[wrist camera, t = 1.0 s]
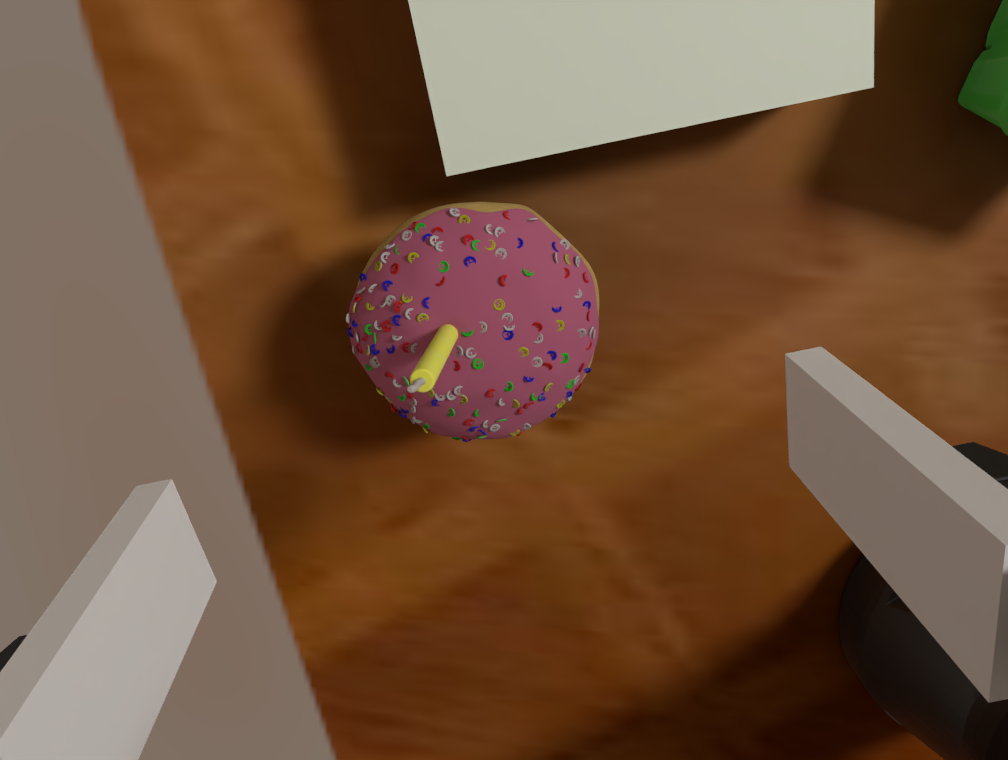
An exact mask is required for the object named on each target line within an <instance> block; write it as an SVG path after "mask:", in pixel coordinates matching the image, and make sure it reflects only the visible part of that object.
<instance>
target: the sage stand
mask: <svg viewBox="0 0 1008 760" xmlns="http://www.w3.org/2000/svg"><path fill="white" fill-rule="evenodd" d="M408 2H409V7H410V12H411V16H412V21H413V25H414V30H415V35H416V39H417V44H418V48H419V53H420V57H421V62H422V67H423V71H424V76H425V80H426V85H427V89H428V94H429V99H430V103H431V108H432V112H433V117H434V122H435V126H436V131H437V135H438V140H439V144H440V149H441V154H442V158H443V163H444V167H445V172H446V176H451V175H456V174H461V173H465V172H470V171H475V170H480V169H485V168H489V167H494V166H499V165H504V164H509V163H513V162H518V161H523V160H528V159H533V158H537V157H542V156H547V155H552V154H557V153H561V152H566V151H571V150H576V149H581V148H585V147H590V146H595V145H600V144H605V143H609V142H614V141H619V140H624V139H629V138H633V137H638V136H643V135H648V134H653V133H657V132H662V131H667V130H672V129H677V128H681V127H686V126H691V125H696V124H701V123H705V122H710V121H715V120H720V119H725V118H729V117H734V116H739V115H744V114H749V113H753V112H758V111H763V110H768V109H773V108H778V107H782V106H787V105H792V104H797V103H802V102H806V101H811V100H816V99H821V98H826V97H830V96H835V95H840V94H845V93H850V92H854V91H859V90H864V89H869V88H874V5H875V0H408Z"/></svg>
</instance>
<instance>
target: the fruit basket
mask: <svg viewBox="0 0 1008 760" xmlns="http://www.w3.org/2000/svg"><path fill="white" fill-rule="evenodd" d="M985 46H986V50H984V51H983V52H982V53H981V54H980V56H979V57H978V58H977V59H976V61H975V62H974V64H973V66H972V68H971V70H970V72H969V74H968V76H967V78H966V81H965V83H964V85H963V87H962V89H961V91H960V94H959V96H958V103H959V104H960V105H961V106H962V107H964V108H966V109H968V110H970V111H971V112H973V113H975V114H977V115H978V116H980V117H982V118H984V119H986V120H988V121H989V122H991V123H993V124H995V125H997V126H999V127H1000V128H1001V129H1002V131H1003V132H1004V133H1005V134H1006V135H1007V136H1008V0H1002V2H1001V4H1000V7H999V9H998V11H997V13H996V15H995V17H994V20H993V22H992V24H991V27H990V29H989V31H988V35H987V40H986V44H985Z"/></svg>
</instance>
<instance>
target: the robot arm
mask: <svg viewBox="0 0 1008 760" xmlns="http://www.w3.org/2000/svg"><path fill="white" fill-rule="evenodd" d="M785 366H786V393H787V420H788V447H789V466H790V468H791V469H792V470H793V471H794V472H795V474H796V475H797V476H798V477H799V478H800V479H801V481H802V482H803V483H804V484H805V485H806V487H807V488H808V489H809V490H810V491H811V493H812V494H813V495H814V496H815V497H816V498H817V500H818V501H819V502H820V503H821V504H822V506H823V507H824V508H825V509H826V510H827V512H828V513H829V514H830V515H831V516H832V517H833V519H834V520H835V521H836V522H837V523H838V525H839V526H840V527H841V528H842V529H843V530H844V532H845V533H846V534H847V535H848V536H849V538H850V539H851V540H852V541H853V542H854V544H855V545H856V546H857V547H858V548H859V549H860V551H861V552H862V553H863V556H862V557H861V559H860V560H859V562H858V564H857V565H856V567H855V569H854V570H853V572H852V575H851V577H850V579H849V581H848V583H847V586H846V588H845V591H844V595H843V598H842V602H841V607H840V614H839V635H840V641H841V645H842V649H843V652H844V654H845V657H846V659H847V661H848V663H849V664H850V666H851V667H852V669H853V671H854V672H855V674H856V675H857V676H858V678H859V679H860V681H861V682H862V684H863V685H864V687H865V688H866V690H867V691H868V693H869V694H870V696H871V697H872V699H873V700H874V701H875V702H876V703H877V704H878V706H879V707H880V708H881V709H882V710H883V711H884V712H885V713H886V714H887V715H889V716H890V717H891V718H892V719H893V720H895V721H896V722H897V723H898V724H900V725H902V726H904V727H905V728H906V729H908V730H909V731H910V732H911V733H912V734H913V735H915V736H916V737H917V738H918V739H920V740H921V741H922V742H923V743H924V744H926V745H927V746H928V747H929V748H931V749H932V750H933V751H934V752H936V753H937V754H938V755H939V756H941V757H942V758H943V759H944V760H1008V455H1006V454H1004V453H1001V452H998V451H996V450H993V449H990V448H988V447H985V446H982V445H980V444H977V443H974V442H971V443H966V444H961V445H956V446H951V445H949V444H948V443H947V442H945V441H944V440H943V439H941V438H940V437H939V436H937V435H936V434H935V433H934V432H932V431H931V430H930V429H928V428H927V427H926V426H924V425H923V424H922V423H920V422H919V421H918V420H917V419H915V418H914V417H913V416H911V415H910V414H909V413H907V412H906V411H905V410H903V409H902V408H901V407H900V406H898V405H897V404H896V403H894V402H893V401H892V400H890V399H889V398H888V397H886V396H885V395H884V394H883V393H881V392H880V391H879V390H877V389H876V388H875V387H873V386H872V385H871V384H869V383H868V382H867V381H866V380H864V379H863V378H862V377H860V376H859V375H858V374H856V373H855V372H854V371H853V370H851V369H850V368H849V367H847V366H846V365H845V364H843V363H842V362H841V361H839V360H838V359H837V358H836V357H834V356H833V355H832V354H830V353H829V352H828V351H826V350H825V349H824V348H822V347H816V348H812V349H807V350H802V351H797V352H792V353H787V354H785ZM216 582H217V581H216V579H215V576H214V574H213V572H212V569H211V567H210V565H209V562H208V560H207V558H206V556H205V553H204V551H203V549H202V547H201V544H200V542H199V540H198V537H197V535H196V533H195V531H194V528H193V526H192V524H191V522H190V519H189V517H188V515H187V512H186V510H185V508H184V505H183V503H182V501H181V499H180V496H179V494H178V492H177V489H176V487H175V485H174V483H173V480H172V479H168V480H163V481H158V482H154V483H149V484H144V485H139V486H136V487H135V489H134V490H133V491H132V493H131V494H130V496H129V497H128V498H127V500H126V501H125V502H124V504H123V505H122V506H121V508H120V509H119V510H118V512H117V513H116V515H115V516H114V518H113V519H112V520H111V522H110V523H109V524H108V526H107V527H106V528H105V530H104V531H103V532H102V534H101V535H100V536H99V538H98V539H97V541H96V542H95V543H94V545H93V546H92V547H91V549H90V550H89V552H88V553H87V554H86V556H85V557H84V558H83V560H82V561H81V563H80V564H79V565H78V567H77V568H76V569H75V571H74V572H73V573H72V575H71V576H70V578H69V579H68V580H67V582H66V583H65V584H64V586H63V587H62V588H61V590H60V591H59V593H58V594H57V595H56V597H55V598H54V599H53V601H52V602H51V604H50V605H49V606H48V608H47V609H46V610H45V612H44V613H43V614H42V616H41V617H40V619H39V620H38V621H37V623H36V624H35V625H34V627H33V628H32V629H31V631H30V632H29V634H28V635H24V636H19V637H18V638H17V639H16V640H14V641H13V642H12V643H11V644H10V645H9V646H8V647H6V648H5V649H4V650H3V651H2V652H1V653H0V760H138V759H139V756H140V754H141V752H142V750H143V747H144V745H145V743H146V741H147V738H148V736H149V734H150V732H151V729H152V727H153V725H154V723H155V720H156V718H157V716H158V714H159V711H160V709H161V707H162V705H163V702H164V700H165V698H166V696H167V693H168V691H169V688H170V686H171V684H172V682H173V679H174V677H175V675H176V673H177V671H178V668H179V666H180V664H181V661H182V659H183V657H184V655H185V653H186V650H187V648H188V646H189V644H190V641H191V639H192V637H193V635H194V632H195V630H196V628H197V625H198V623H199V621H200V619H201V616H202V614H203V612H204V610H205V607H206V605H207V603H208V601H209V598H210V596H211V594H212V592H213V589H214V587H215V585H216Z"/></svg>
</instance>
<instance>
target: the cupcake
mask: <svg viewBox="0 0 1008 760" xmlns="http://www.w3.org/2000/svg"><path fill="white" fill-rule="evenodd" d="M346 322H347V323H348V326H349V329H348V334H349V336H350V341H351V345H352V352H353V354H354V355H355V356H356V358H357V359H358V361H359V362H360V364H361V365H362V367H363V368H364V370H365V371H366V373H367V374H368V375H369V377H370V378H371V380H372V381H373V383H374V384H375V385H376V387H377V388H376V390H377V392H378V393H379V394H381V395H383V396H384V397H385V398H386V399H387V401H388V402H389V403H390V404H391V409H392V411H393V412H394V413H396V412H397V411H398V413H399V414H400V415H401V416H402V417H404V418H406V417H407V418H408V419H410V421H411V422H412V423H413V424H414V423H417V424H418V425H420V426H422V428H423V430H424V431H425V432H426V433H428V430H429V431H431V432H433V433H436V434H438V435H442V436H448V437H452V438H453V439H455V440H459V439H462V440H463V441H465V442H468V441H470V440H472V439H500V438H506V437H510V436H513V435H517V436H519V435H520V434H521V433H522V432H523V431H524V430H526V429H529V428H531V427H532V426H534V425H536V424H538V423H540V422H541V421H543V420H545V419H546V418H548V417H549V416H551V417H552V418H553V417H554V416H555V414H556V411H557V410H559V409H560V408H561V407H562V406H563V405H564V404H565V402H566V401H567V400H568V401H570V400H571V399H572V395H573V393H574V392H575V391H577V390H578V389H579V387H580V385H581V382H582V381H583V379H584V378H585V376H586V374H587V373H589V372H590V371H591V368H590V365H591V362H592V359H593V355H594V351H595V348H596V344H597V340H598V333H599V291H598V285H597V281H596V277H595V275H594V272H593V270H592V268H591V266H590V265H589V263H588V262H587V261H586V259H585V258H584V257H583V256H582V255H581V253H580V252H579V251H578V250H577V249H576V248H575V247H574V246H572V245H571V244H570V243H569V242H568V241H567V240H566V239H565V238H564V237H563V236H562V235H561V234H560V233H559V232H558V231H557V230H556V229H555V228H553V227H552V226H551V225H550V224H549V223H548V222H547V221H545V220H544V219H543V218H542V217H541V216H540V215H538V214H537V213H536V212H535V211H533V210H532V209H530V208H528V207H526V206H524V205H520V204H511V203H495V202H466V203H455V204H448V205H443V206H439V207H436V208H432V209H429V210H427V211H424V212H422V213H419V214H417V215H415V216H413V217H412V218H410V219H408V220H407V221H405V222H404V223H402V224H401V225H400V226H398V227H397V228H396V229H395V230H394V231H393V232H392V233H391V234H390V235H389V236H388V237H387V238H386V239H385V240H384V241H383V242H382V243H381V244H380V245H379V246H378V248H377V249H376V250H375V251H374V252H373V254H372V255H371V257H370V259H369V261H368V263H367V265H366V267H365V269H364V270H363V272H362V273H361V274H360V279H359V282H358V285H357V289H356V291H355V293H354V296H353V298H352V301H351V303H350V307H349V312H348V313H347V315H346ZM393 408H394V409H395V410H394V409H393Z"/></svg>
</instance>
